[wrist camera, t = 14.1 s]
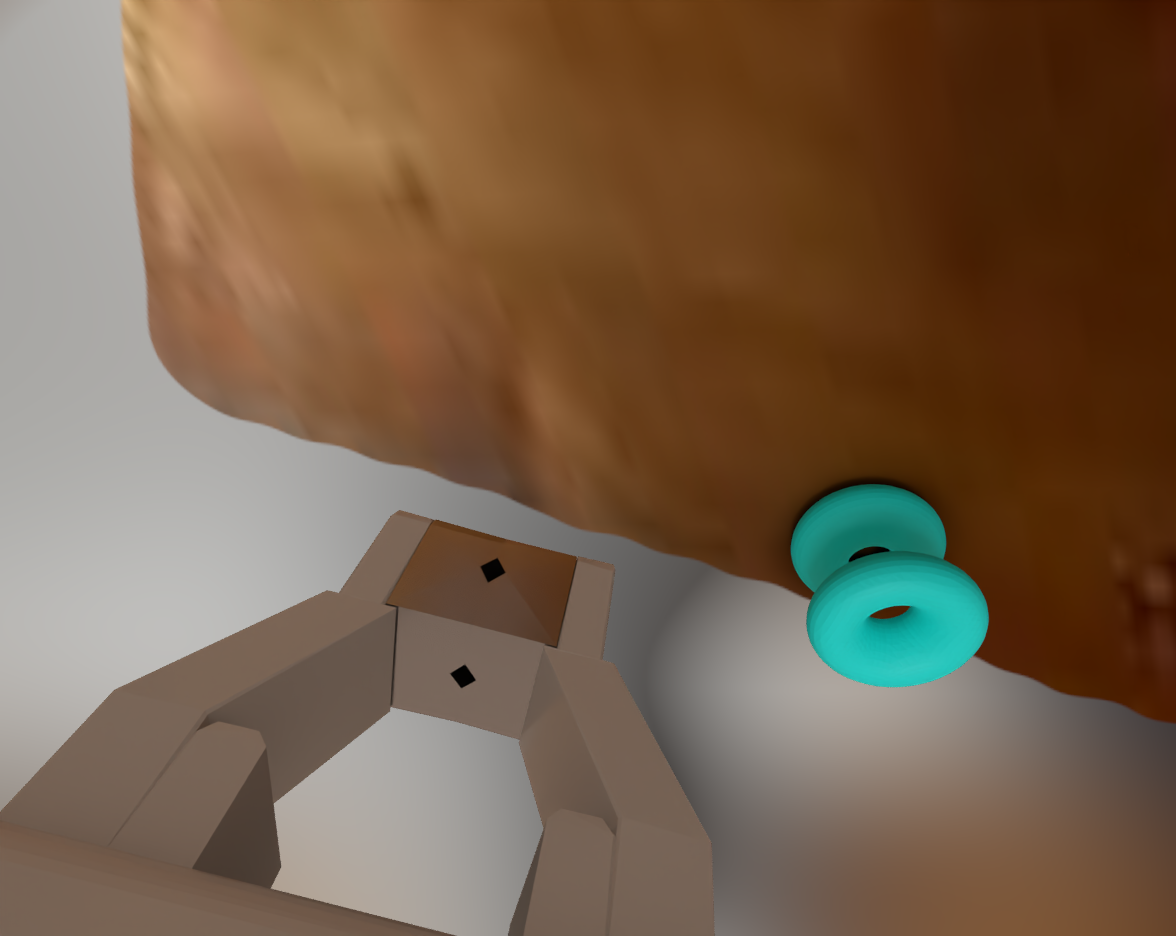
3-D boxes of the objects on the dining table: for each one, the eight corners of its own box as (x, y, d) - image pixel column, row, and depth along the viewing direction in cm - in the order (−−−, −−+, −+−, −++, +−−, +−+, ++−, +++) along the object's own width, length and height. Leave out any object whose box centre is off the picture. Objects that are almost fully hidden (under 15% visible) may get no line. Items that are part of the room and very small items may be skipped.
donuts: (784, 673, 39) (856, 556, 33) (767, 567, 47) (822, 459, 42) (939, 713, 39) (1035, 603, 34) (894, 600, 47) (966, 497, 42)
